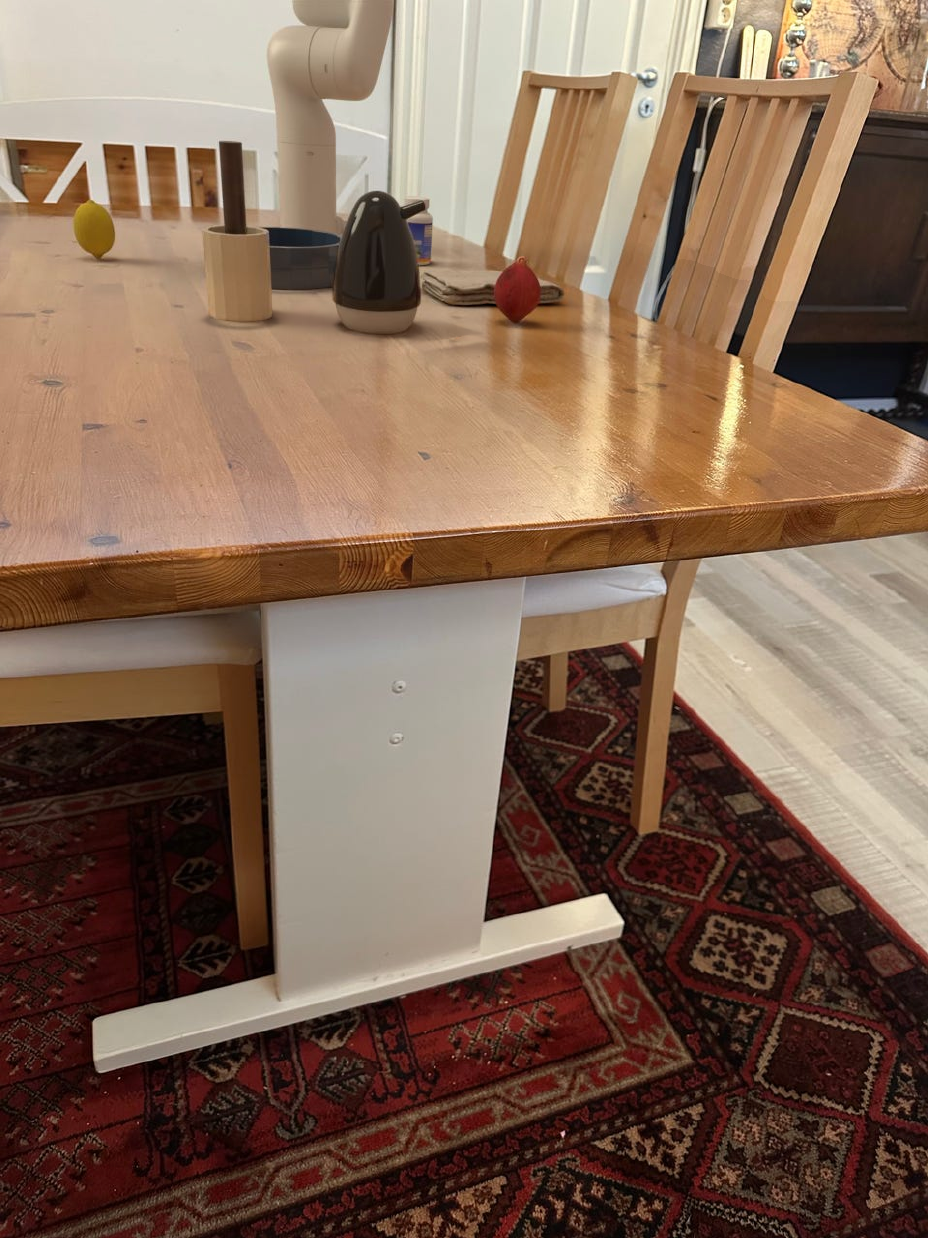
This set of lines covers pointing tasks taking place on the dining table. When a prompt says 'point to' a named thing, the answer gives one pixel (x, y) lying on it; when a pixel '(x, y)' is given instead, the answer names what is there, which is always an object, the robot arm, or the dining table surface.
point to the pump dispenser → (377, 266)
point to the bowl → (302, 258)
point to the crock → (238, 274)
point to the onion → (517, 291)
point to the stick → (233, 187)
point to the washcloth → (476, 287)
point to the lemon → (94, 229)
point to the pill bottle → (421, 230)
